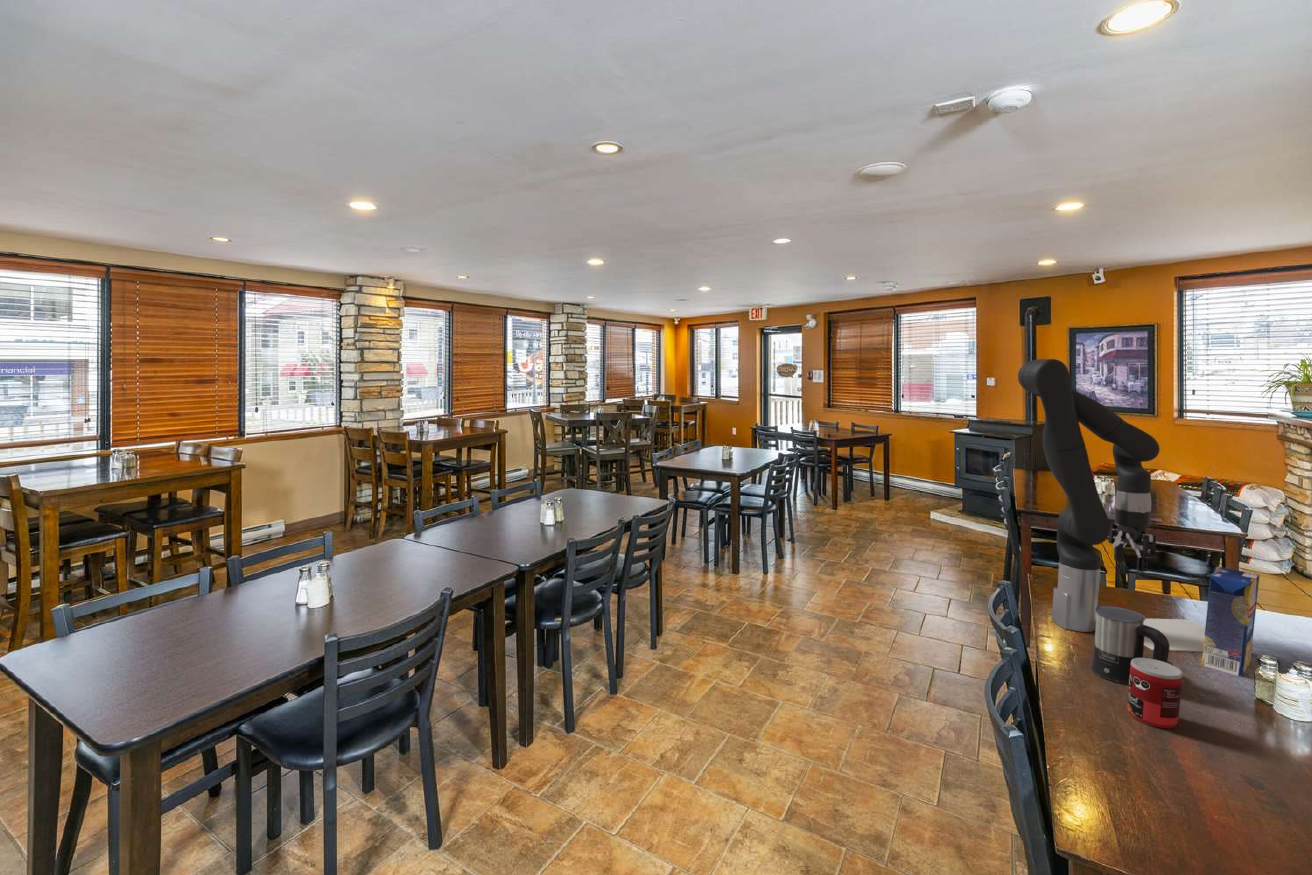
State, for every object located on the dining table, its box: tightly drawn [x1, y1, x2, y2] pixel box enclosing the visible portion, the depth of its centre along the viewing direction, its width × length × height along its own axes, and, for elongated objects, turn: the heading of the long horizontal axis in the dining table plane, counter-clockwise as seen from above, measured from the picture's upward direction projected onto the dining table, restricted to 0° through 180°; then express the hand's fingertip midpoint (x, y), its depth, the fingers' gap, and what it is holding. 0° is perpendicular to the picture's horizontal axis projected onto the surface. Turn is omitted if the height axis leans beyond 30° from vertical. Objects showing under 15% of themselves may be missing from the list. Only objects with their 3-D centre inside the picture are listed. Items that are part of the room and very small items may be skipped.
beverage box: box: [1201, 566, 1260, 677], centre depth 142 cm, size 7×11×22 cm, turn 128°
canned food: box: [1126, 657, 1183, 729], centre depth 120 cm, size 8×8×11 cm
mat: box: [1143, 618, 1255, 654], centre depth 159 cm, size 24×20×1 cm
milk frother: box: [1090, 605, 1174, 685], centre depth 138 cm, size 14×16×15 cm
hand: (1130, 565), depth 163 cm, fingers open, 8 cm apart
